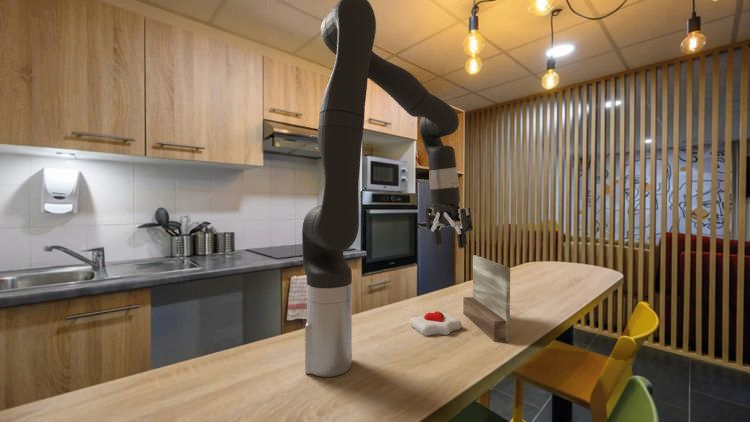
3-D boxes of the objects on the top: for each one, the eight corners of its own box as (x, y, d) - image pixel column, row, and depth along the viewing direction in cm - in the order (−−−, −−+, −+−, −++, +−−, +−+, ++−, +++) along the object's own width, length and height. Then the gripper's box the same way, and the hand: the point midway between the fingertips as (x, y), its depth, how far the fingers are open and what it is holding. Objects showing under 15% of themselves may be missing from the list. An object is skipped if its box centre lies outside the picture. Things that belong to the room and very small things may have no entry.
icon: (428, 323, 77) (408, 311, 86) (428, 341, 77) (408, 326, 86) (467, 317, 82) (444, 305, 91) (467, 333, 82) (444, 320, 91)
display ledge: (494, 341, 76) (494, 268, 76) (463, 313, 96) (463, 255, 96) (509, 340, 77) (510, 267, 76) (475, 313, 97) (476, 255, 96)
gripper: (415, 189, 87) (421, 246, 88) (455, 186, 75) (461, 252, 76) (435, 186, 91) (440, 240, 92) (475, 183, 79) (480, 245, 81)
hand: (449, 245), depth 84 cm, fingers open, 8 cm apart
